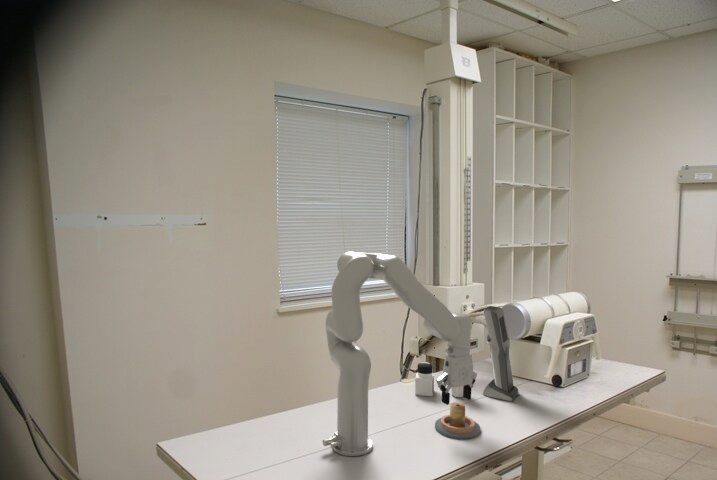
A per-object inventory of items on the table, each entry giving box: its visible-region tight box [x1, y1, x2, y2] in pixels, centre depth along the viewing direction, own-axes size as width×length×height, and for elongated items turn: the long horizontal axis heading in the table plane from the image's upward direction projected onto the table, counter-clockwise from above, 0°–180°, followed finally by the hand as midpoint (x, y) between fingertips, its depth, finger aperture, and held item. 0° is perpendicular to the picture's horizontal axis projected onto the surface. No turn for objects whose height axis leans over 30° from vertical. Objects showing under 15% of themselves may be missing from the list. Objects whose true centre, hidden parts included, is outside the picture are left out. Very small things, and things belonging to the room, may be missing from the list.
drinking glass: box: [450, 386, 464, 398], centre depth 184 cm, size 7×7×15 cm
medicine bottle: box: [414, 362, 435, 397], centre depth 187 cm, size 7×7×12 cm
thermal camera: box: [482, 305, 519, 403], centre depth 185 cm, size 12×13×35 cm
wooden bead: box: [449, 402, 466, 427], centre depth 154 cm, size 5×5×7 cm
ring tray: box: [434, 414, 481, 440], centre depth 155 cm, size 15×15×2 cm
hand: (456, 400), depth 154 cm, fingers open, 9 cm apart
